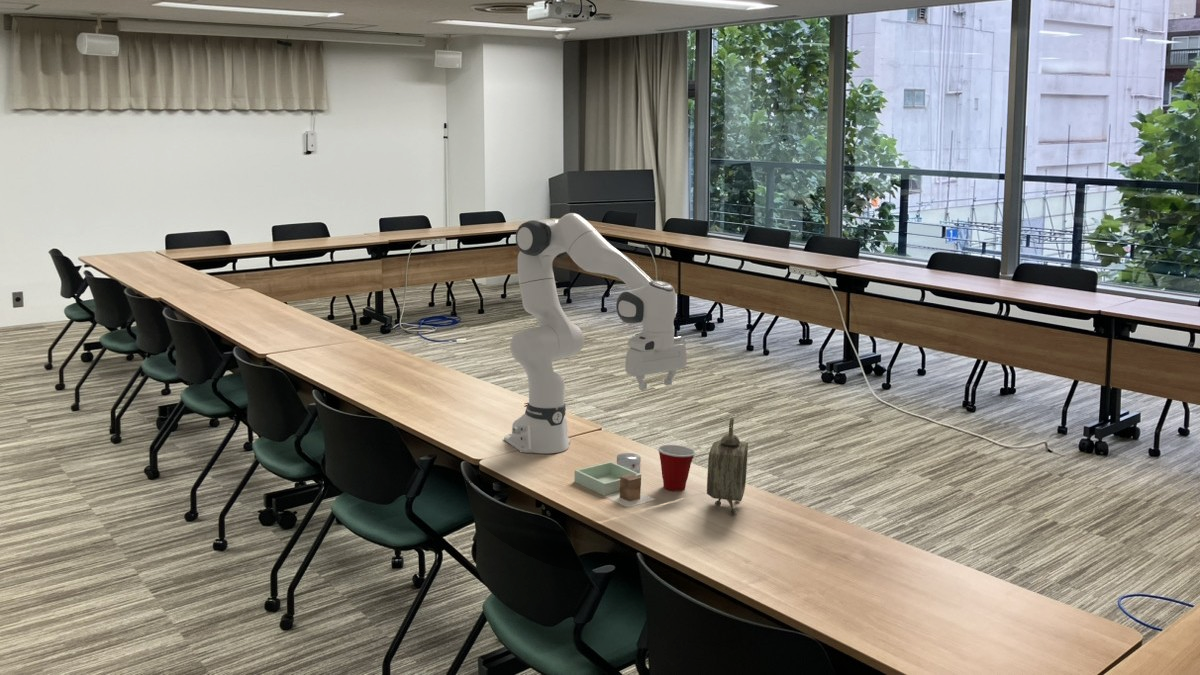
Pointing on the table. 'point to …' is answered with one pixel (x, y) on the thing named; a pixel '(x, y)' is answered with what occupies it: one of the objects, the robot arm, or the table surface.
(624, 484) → the walnut block
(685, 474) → the plastic cup
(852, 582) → the table surface
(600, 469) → the crate
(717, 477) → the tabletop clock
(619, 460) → the metal tin
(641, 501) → the coaster
